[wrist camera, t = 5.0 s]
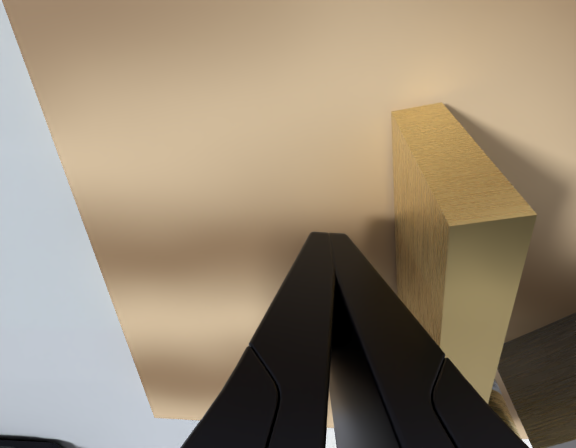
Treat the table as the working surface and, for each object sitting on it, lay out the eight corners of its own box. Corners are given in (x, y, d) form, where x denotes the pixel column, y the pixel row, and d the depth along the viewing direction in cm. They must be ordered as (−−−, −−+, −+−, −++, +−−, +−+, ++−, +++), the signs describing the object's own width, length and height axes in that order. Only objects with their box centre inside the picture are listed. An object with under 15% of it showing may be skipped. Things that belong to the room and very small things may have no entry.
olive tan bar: (487, 395, 14) (535, 516, 11) (400, 401, 15) (425, 519, 12) (566, 79, 7) (763, 184, 4) (391, 111, 8) (449, 226, 5)
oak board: (574, 420, 18) (586, 442, 17) (161, 396, 18) (154, 417, 17) (1289, -192, 5) (1455, -215, 5) (-58, -294, 5) (-119, -333, 5)
